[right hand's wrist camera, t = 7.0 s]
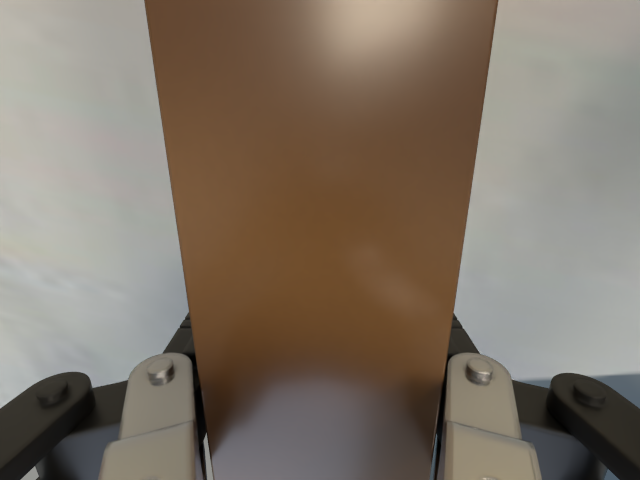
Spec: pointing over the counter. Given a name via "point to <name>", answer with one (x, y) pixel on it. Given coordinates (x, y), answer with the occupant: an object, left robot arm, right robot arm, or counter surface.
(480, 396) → the right robot arm
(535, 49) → the counter surface
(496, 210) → the counter surface
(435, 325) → the post
